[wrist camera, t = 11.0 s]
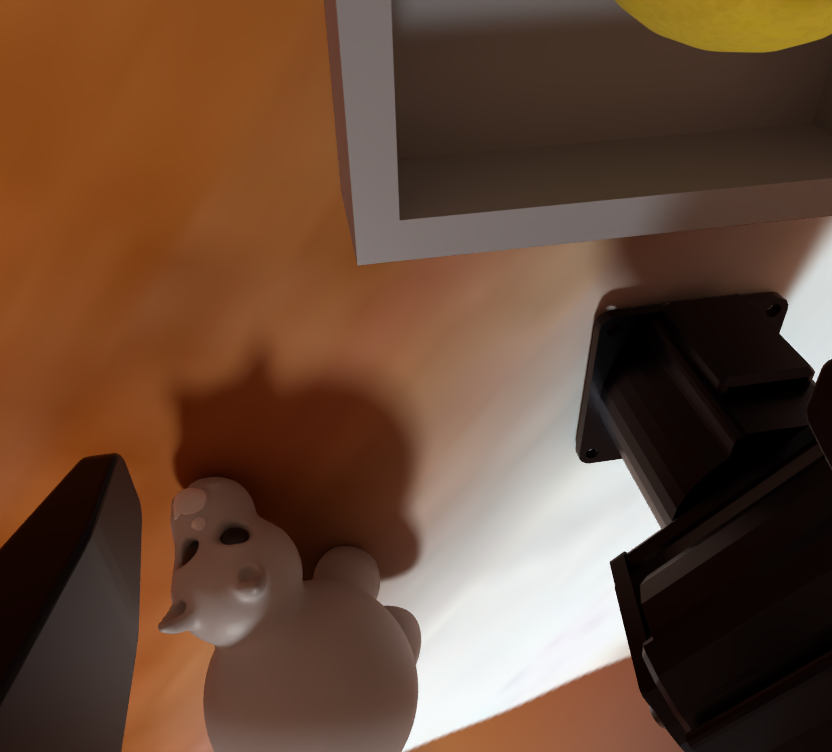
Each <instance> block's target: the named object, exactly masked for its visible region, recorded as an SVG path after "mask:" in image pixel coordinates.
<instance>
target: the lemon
mask: <svg viewBox="0 0 832 752" xmlns="http://www.w3.org/2000/svg"><path fill="white" fill-rule="evenodd" d="M615 1H616V3H617V4H618V5H619V6H620V7H621V8H622V9H624V10H625V11H626V12H628V13H629V14H630V15H631V16H633V17H634V18H635V19H637V20H638V21H639V22H640V23H642V24H643V25H644V26H646V27H647V28H648V29H650V30H651V31H653V32H655V33H656V34H658V35H661V36H663V37H666V38H669V39H672V40H675V41H677V42H680V43H683V44H686V45H689V46H692V47H695V48H698V49H703V50H707V51H716V52H772V51H778V50H782V49H786V48H790V47H793V46H797V45H801V44H805V43H809V42H812V41H816V40H819V39H822V38H824V37H826V36H828V35H830V34H832V0H615Z"/></svg>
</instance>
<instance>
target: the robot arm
mask: <svg viewBox="0 0 832 752" xmlns="http://www.w3.org/2000/svg"><path fill="white" fill-rule="evenodd" d="M772 305H773V306H772ZM770 306H772V307H771V308H770V309H769V310H768V308H769V307H770ZM787 309H788V303H787V300H786V299H785V298H783V297H782V296H781V295H780V294H779V293H777V292H772V291H771V292H762V293H754V294H745V295H740V294H735V295H726V296H718V297H709V298H701V299H692V300H684V301H675V302H670V303H667V304H660V305H651V306H643V307H634V308H626V309H617V310H610V311H607V312H605V313H603V314H602V315H600V316H599V318H598V319H597V320H596V323H595V327H594V333H593V339H592V346H591V352H590V359H589V365H588V371H587V378H586V384H585V390H584V397H583V403H582V410H581V416H580V422H579V429H578V435H577V442H576V453H577V455H578V457H579V459H580V460H581V461H582V462H584V463H595V462H602V461H609V460H616V459H623V461H624V462H625V464H626V466H627V468H628V470H629V471H630V473H631V475H632V477H633V479H634V480H635V482H636V484H637V486H638V487H639V489H640V491H641V493H642V495H643V496H644V498H645V500H646V502H647V504H648V505H649V507H650V509H651V511H652V513H653V514H654V516H655V518H656V520H657V522H658V523H659V525H660V527H661V530H659V531H658V532H656V533H655V534H654V535H652V536H651V537H649V538H648V539H646V540H645V541H644V542H642V543H641V544H639V545H638V546H637V547H635V548H634V549H632V550H631V551H630V552H628V553H627V552H623V553H621V554H620V555H619V556H617V557H616V558H614V559H613V560H612V561H610V566H611V570H612V574H613V579H614V583H615V591H616V595H617V599H618V603H619V607H620V611H621V615H622V620H623V624H624V628H625V632H626V636H627V640H628V644H629V648H630V653H631V657H632V661H633V665H634V669H635V673H636V677H637V681H638V686H639V689H640V692H641V694H642V696H643V698H644V699H645V700H646V702H647V703H648V704H649V707H650V711H651V714H652V716H653V718H654V719H655V721H656V722H657V723H658V725H660V726H661V727H662V728H665V729H667V731H668V732H669V733H670V735H671V736H672V737H673V739H674V740H675V741H676V742H677V744H678V745H679V746H680V747H681V748H682V749H683V750H684V752H832V359H831V360H829V361H827V362H826V363H825V364H824V365H823V367H822V369H821V372H820V374H819V376H818V379H817V381H816V383H815V382H814V381H813V380H812V378H813V376H814V373H815V371H814V369H813V368H812V367H811V366H810V365H809V364H808V363H807V362H806V361H805V360H804V359H803V358H802V357H801V355H800V354H799V353H798V352H797V351H796V350H795V349H794V348H793V347H792V346H791V345H790V344H789V343H788V342H787V341H786V340H785V339H784V338H783V337H782V336H781V335H780V334H779V332H780V329H781V327H782V324H783V321H784V318H785V315H786V312H787ZM615 323H617V324H616V326H614V327H613V328H612V329H609V330H607V329H608V327H609V326H610V325H612V324H615ZM590 449H592V450H590ZM588 450H589V451H588ZM141 533H142V512H141V505H140V501H139V498H138V495H137V492H136V490H135V487H134V484H133V482H132V479H131V476H130V474H129V471H128V469H127V466H126V463H125V461H124V459H123V458H122V457H121V455H119V454H116V453H111V454H103V455H96V456H88V457H85V458H83V459H82V460H80V461H79V462H78V463H77V464H76V465H75V466H74V468H73V469H72V470H71V471H70V472H69V473H68V474H67V475H66V476H65V477H64V479H63V480H62V481H61V482H60V483H59V484H58V485H57V486H56V487H55V489H54V490H53V491H52V492H51V493H50V494H49V495H48V496H47V497H46V499H45V500H44V501H43V502H42V503H41V504H40V505H39V506H38V507H37V508H36V510H35V511H34V512H33V513H32V514H31V515H30V516H29V517H28V518H27V520H26V521H25V522H24V523H23V524H22V525H21V526H20V527H19V528H18V530H17V531H16V532H15V533H14V534H13V535H12V536H11V537H10V538H9V540H8V541H7V542H6V543H5V544H4V545H3V546H2V547H1V548H0V752H121V749H122V742H123V736H124V729H125V723H126V716H127V710H128V703H129V697H130V690H131V683H132V677H133V670H134V664H135V657H136V649H137V641H138V630H139V605H140V569H141Z"/></svg>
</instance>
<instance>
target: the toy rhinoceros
mask: <svg viewBox="0 0 832 752" xmlns="http://www.w3.org/2000/svg"><path fill="white" fill-rule="evenodd" d="M171 507H172V508H171V529H172V534H173V539H174V544H175V562H174V570H173V577H172V585H171V599H172V606H171V607H170V609H169V611H168V613H167V614H166V616H165V617H164V618H163V619H162V621H161V622H160V623H159V625H158V629H159V631H160V632H163V633H168V634H176V633H180V632H184V631H190V632H191V633H192V634H193V635H195V636H196V637H198V638H199V639H202V640H204V641H206V642H209V643H211V644H213V645H214V646H215V650H214V653H213V655H212V658H211V660H210V663H209V667H208V670H207V674H206V679H205V686H204V699H203V703H204V717H205V724H206V728H207V733H208V736H209V739H210V742H211V745H212V747H213V750H214V752H401V751H402V750H403V748H404V746H405V744H406V741H407V739H408V737H409V734H410V732H411V729H412V726H413V722H414V718H415V714H416V708H417V700H418V677H417V670H416V663H417V660H418V657H419V653H420V648H421V632H420V628H419V625H418V622H417V620H416V618H415V617H414V616H413V615H412V614H411V613H410V612H409V611H407V610H405V609H403V608H400V607H396V606H383V605H382V604H381V603H380V602H378V601H377V600H376V598H377V596H378V593H379V588H380V573H379V568H378V566H377V563H376V561H375V560H374V558H373V557H372V556H371V555H370V554H368V553H367V552H365V551H364V550H362V549H359V548H356V547H352V546H339V547H335V548H332V549H331V550H329V551H328V552H326V553H325V554H324V555H323V556H322V558H321V559H320V560H319V562H318V564H317V566H316V568H315V571H314V575H313V580H305V581H302V575H303V573H302V563H301V559H300V556H299V553H298V550H297V548H296V546H295V544H294V543H293V541H292V540H291V538H290V537H289V536H288V535H287V534H286V533H285V532H284V531H283V530H282V529H281V528H279V527H277V526H276V525H274V524H272V523H270V522H268V521H266V520H264V519H263V518H261V517H260V516H259V515H258V514H257V512H256V509H255V506H254V503H253V500H252V498H251V496H250V495H249V493H248V492H247V491H246V489H245V488H244V487H243V486H242V485H240V484H239V483H237V482H236V481H234V480H231V479H227V478H224V477H208V478H202V479H199V480H197V481H195V482H193V483H191V484H190V485H189V486H188V488H187V489H184V490H182V491H180V492H179V493H178V494H177V495H176V497H174V499H173V500H172V506H171Z"/></svg>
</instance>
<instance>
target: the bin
mask: <svg viewBox="0 0 832 752" xmlns="http://www.w3.org/2000/svg"><path fill="white" fill-rule="evenodd" d="M324 5H325V16H326V27H327V38H328V49H329V60H330V71H331V82H332V94H333V105H334V116H335V127H336V138H337V149H338V160H339V171H340V182H341V192H342V197H343V202H344V206H345V211H346V215H347V220H348V224H349V229H350V233H351V238H352V242H353V247H354V252H355V256H356V261H357V265H365V264H374V263H384V262H393V261H403V260H412V259H422V258H431V257H441V256H450V255H460V254H470V253H479V252H489V251H498V250H508V249H517V248H527V247H536V246H546V245H555V244H565V243H574V242H584V241H594V240H603V239H613V238H622V237H632V236H641V235H651V234H660V233H670V232H679V231H689V230H699V229H708V228H718V227H727V226H737V225H746V224H756V223H765V222H775V221H784V220H794V219H804V218H813V217H823V216H832V34H830V35H828V36H826V37H824V38H822V39H819V40H816V41H812V42H809V43H805V44H801V45H797V46H793V47H790V48H786V49H782V50H778V51H772V52H716V51H707V50H703V49H698V48H695V47H692V46H689V45H686V44H683V43H680V42H677V41H675V40H672V39H669V38H666V37H663V36H661V35H658V34H656V33H655V32H653V31H651V30H650V29H648V28H647V27H646V26H644V25H643V24H642V23H640V22H639V21H638V20H637V19H635V18H634V17H633V16H631V15H630V14H629V13H628V12H626V11H625V10H624V9H622V8H621V7H620V6H619V5H618V4H617V3H616V1H615V0H324Z"/></svg>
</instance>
